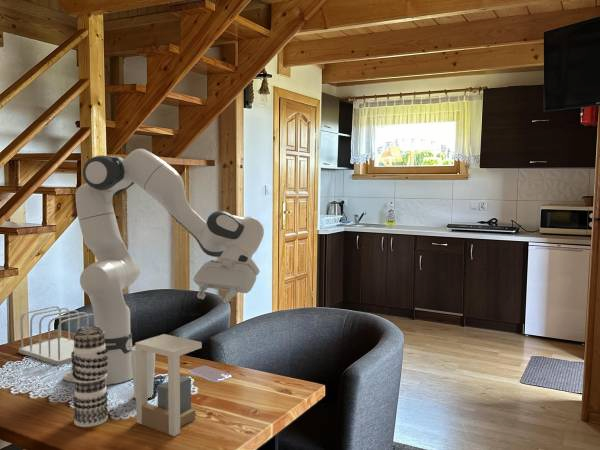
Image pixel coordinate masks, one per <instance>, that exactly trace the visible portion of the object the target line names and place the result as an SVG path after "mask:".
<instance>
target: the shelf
mask: <svg viewBox="0 0 600 450" xmlns="http://www.w3.org/2000/svg"><path fill="white" fill-rule="evenodd" d="M134 346H135V354H136V399H135V402H136V404H135V406H136V407H135V410H136V413H135V415H136V416H135V417H136V419H135V420H136V423H137V424H140V425H143V426H145V427H148V428H151V429H153V430H156V431H159V432H161V433H164V434H168V435H170V436H172V437H176V436H178V435H180V434H181V427H183V426H185V425H187V424H189V423H191V422H193V421H195V420H196V410H195V409H192V408H191V409H190V410H188V411H186V412H184V413H182V414H180V376H181V373H180V372H181V371H180V370H181V367H180V366H181V364H180V362H181V359H180V356H184V355H186V354H188V353H191V352H194V351H196V350H199V349H202V348H203V347H202V346H203V344H202V341H197V340H193V339H189V338H183V337H179V336H174V335H170V334H166V333H163V334H160V335H156V336H153V337H149V338H146V339H143V340H140V341H137V342H135V343H134ZM147 351H148V352H152V353H155V355H161V356H165V357H167V374H168V375H167V377H168V378H167V382H168V403H169V410H166V409H163V408H160V407H158V405H153V404H151V403H148V399H147Z"/></svg>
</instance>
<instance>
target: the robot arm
mask: <svg viewBox="0 0 600 450" xmlns="http://www.w3.org/2000/svg"><path fill="white" fill-rule="evenodd" d="M82 178H83V179H84V181H85V183H84V184H81V185H80V186H79V187H77V188H76V190H75V207H76V214H77V218H78V219H77V220H78V223H79V227H80V230H81V234H82V239H83V243H84V245H85V246H86V247H87V248H88V249H90V251H91V252H92V253H93V255H94V256H95V258H96V260H97V261H95V262H93V263H91V264H90V265H88V266H87V267H85V269H83V270H82V272H81V274H80V276H79V277H80V278H79V284H80V287H81V289H82V291H83V292H84V293H85V294H86V295H87V296H88V298H89V300H90V303H91V307H92V312H93V314H94V315H93V326H99V327H101V329H102V330H103V331H105V332H106V333H105V335H104V337H105V341H104V342H105V345H106V349H108V352H107V353H106V354H104V355H105V356H107V357H108V359H107V360H106V362H108V364H107V366H105V369H107V377H106V378H105V382H106V383H105V385H106V386H108V385H115V384H119V383H120V384H121V383H124V382H127V381H130V380H133V374H132V365H131V349H132V347H133V333H132V332H131V309H130V307H129V306H128V305H127V303H126V302H125V298H124V295H123V290H125V289H126V288H128V287H130V286H132V285H133V284H134V283H135V282H136V281H137V280H138V278H139V276H140V271H141V269H140V265H139V263H138V262H137V260H136V259H134V258H133V256H131V254H130V252H129V250H128V248H127V246H126V245H125V243H124V240H123V238H122V235H121V232H120V229H119V225H118V221H117V218H116V213H115V209H114V206H113V196H114V195H116V196H117V195H119V194H121V193H122V192H124V191H125V190H128V189H129V188H131V187H132V186H133V185H134V184H135V185H138V186H139V187H141V189H142V190H144V191H145V192H146V193H147V194H148V195H150V196H151V197H152V198H153V199H155V200H156V201H157V202H158V203H159V205H161V207H163V208H164V209H165V210H166V211H167V213H168V214H169V215H170V216H171V217H172V218H173V219H174V221H176V222H177V223H178V224H180V225H181V226H182V227H183V228H184V229H185V231H187V232H188V233H189V234H190V235H191V236H192V237H193V238H194V239H195V241H196V242H197V243H198V245H199V247H200V249H201V250H202V251H203V252H204V254H206V255H207V256H209V257H215V258H216V257H217V258H218V259H217V260H214V259H211V260H210V261H207V262H205V263H204V264H202V266H200V268H199V269H198V271H197V272H196V273H195V275H194V277H193V282H194V283H195V284H196V285H197V286H198V287H199V291H198V293H197V295H196V296H197V298H198V299H199V300H204V299H205V297H206V296H207V294H206V293H205V291H207V290H208V289H213V290H214V289H215V290H218V291H219V290H221V291H228V292H227V293H226V294H223V295H222V297H221V302H222V303H224V304H229V302H230V301H231V299H233V298H234V297H236V296H237V294H238V293H241V294H248V293H249V292H251V291H252V289H253V287H254V285H255V283H256V282H257V281H256V280H257V276H258V275H259V273H260V269H259V267H258V266H257V264H256V262H254V260H253V259H252V258H253V255H254V254H256V252H257V251H258V249H259V248H260V247H259V246H260V245H261V243H262V240H263V238H264V234H265V229H264V227H263V226H264V225H262V223H261V222H260V221H259V219H257V218H255V217H253V216H237V215H234V214H231V213H229V212H227V211H224V210H217V211H214V212H212V213H211V214H209V216H208V218H207V219H206V220H205V219H204V218H202V217H201V216H200V215H199V214H198V213H197V212H196V211H195V210H194V209H193V208H192V206H191V205H190V203H189V201H188V199H187V195H186V188H185V182H184V180H183V178H182V176H181V175H180V174H179V172H178V171H177V170H176V169H175V168H174V167H172V166H171V165H170V164H168V163H167V162H166V161H164V160H163V159H162V158H161V157H159V156H158V155H156V154H154V153H152V152H151V151H148V150H147V149H145V148H137V149H134V150H132V151H131V152H130V153H129V154H128V155H127V156H126V157H120V156H117V155H116V156H115V155H96V156H93V157H91V158H90V159H88V160H87V161H86V162H85V164H84V165H83V167H82ZM72 366H73V364H72V363H71V370H69V371H67V372H66V373H65V374H64V376H63V380H64V381H67V382H70V383H75V381H74V380H73V375H72V373H73V370H72V368H73V367H72Z"/></svg>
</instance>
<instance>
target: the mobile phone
mask: <svg viewBox="0 0 600 450" xmlns="http://www.w3.org/2000/svg"><path fill="white" fill-rule="evenodd" d="M188 373H190V374H193V375H195V376H198V377H199V378H202V379H205V380H207V381H210V382H213V383H220V382H222V381H225V380H228V379H231V378H232V377H233V375H232V374H230V373H227V372H225V371H222V370H219V369H216V368H214V367H211V366H208V365H201V366H197V367H195V368H191V369H189V370H188Z"/></svg>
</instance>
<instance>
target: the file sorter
mask: <svg viewBox="0 0 600 450" xmlns="http://www.w3.org/2000/svg"><path fill="white" fill-rule="evenodd" d="M63 310H65V311H63ZM57 311H58V312H57ZM52 312H54V313H52ZM73 312H75V313H73ZM31 313H34V314H33V315H32V316H31V318H30V320H29V329H30V330H29V337H30V339H29V340H30V341H29V344H30V345H26V346H24V327H23V326H24V325H23V322H24V320H23V319H24V317H25V316H26V315H28V314H31ZM46 313H47V314H46ZM48 313H49V314H48ZM42 314H45V315H43V316H42V317H40V319H39V321H38V322H39V323H38V330H39V331H38V341H39V342H37V343H34V344H33V319H34V318H35V316H37V315H38V316H39V315H42ZM62 314H65V315H62ZM82 314H83V315H82ZM57 315H58V316H57ZM52 316H56V317H52ZM73 316H75V317H73ZM91 316H94V313H89V314H88V313H87V312H86V311H85V312H84V311H82V312H79V311H78V310H76V309H69V308H67V307H59V306H57V305H53V306H47V307H43V308H37V309H33V310H28V311H25V312H23V313H22V315H21V316H20V342H21V343H20V344H21V347H19V348H18V353H19V354H21V355H26V356H28V357H30V356H31V357H30V358H33V357H34V359H36V358H37V360H39V359H40V361H42V360H43V362H46V363H49V364H52V363H53V364H52V365H55V364H56V365H55V366H58V365H59V366H62V365H61V364H63V365H65V364H64V363H66V364H69V363H72V362H71V360H72V358H73V357H71V355H72V354H71V353H72V352H73V351H74V339H71V321H73V320H76V319H77V330H78V329H79V328H81V327H80V325H81V324H80V320H81V319H82V318H85V317H86V326H90V324H89V323H90V321H89V317H91ZM47 317H52V318H51V319H50V320H49V322H48V324H47V325H48V326H47V327H48V328H47V336H48V337H47V339H48V340H45V341H42V321H43V320H44V319H45V318H47ZM71 317H72V318H71ZM63 318H67V319H64V320H62V319H63ZM57 319H58V320H59V321H58V322H59V323H58V325H57V338H53V339H51V323H52V322H54V320H57ZM65 322H67V323H68V324H67V326H68V327H67V329H68V338H66V337H62V324H64V323H65ZM74 356H75V354H74ZM68 362H69V363H68Z"/></svg>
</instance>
